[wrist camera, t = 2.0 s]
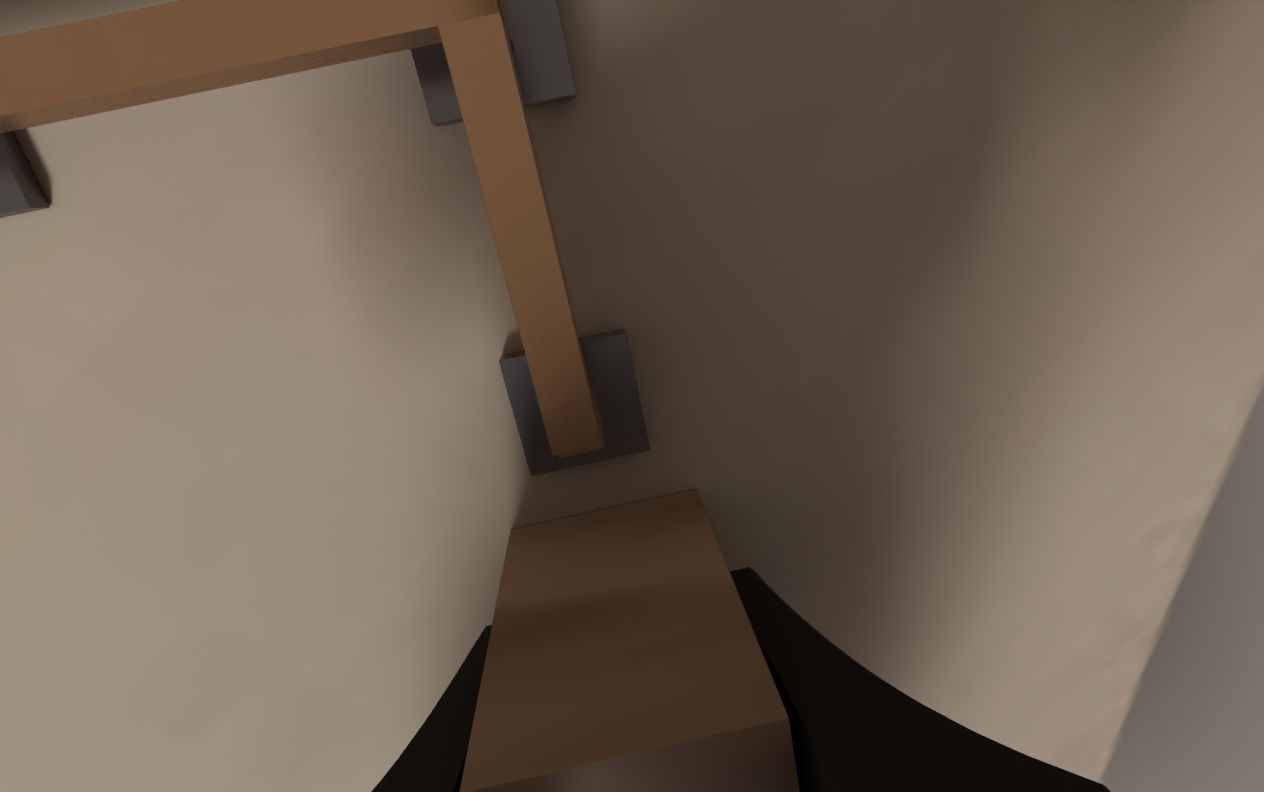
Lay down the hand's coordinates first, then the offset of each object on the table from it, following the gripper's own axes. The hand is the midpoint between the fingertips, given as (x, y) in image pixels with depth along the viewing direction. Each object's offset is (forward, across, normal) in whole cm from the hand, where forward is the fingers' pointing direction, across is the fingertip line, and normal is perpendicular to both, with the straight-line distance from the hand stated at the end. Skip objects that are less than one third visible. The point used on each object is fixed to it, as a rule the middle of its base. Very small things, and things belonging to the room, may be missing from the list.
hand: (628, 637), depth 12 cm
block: (+2, 0, 0) cm, 2 cm away
